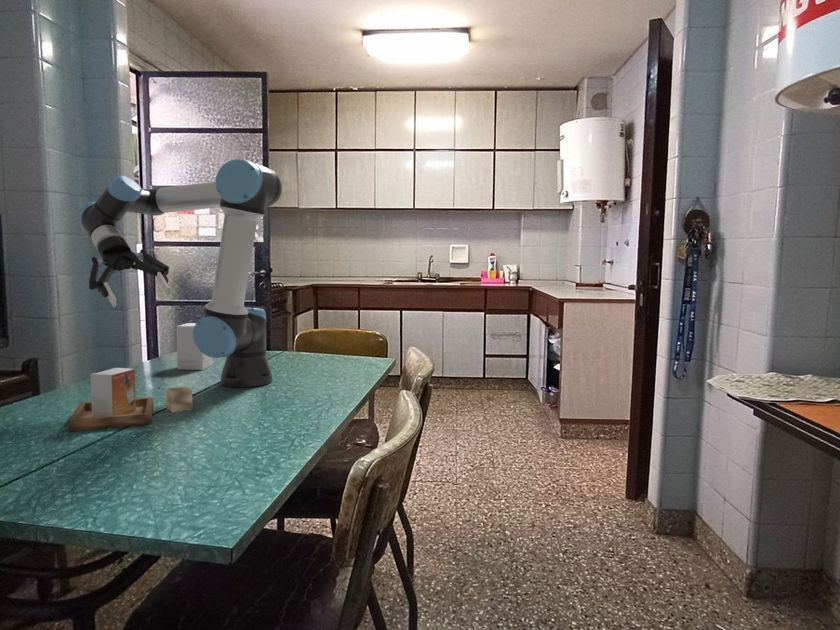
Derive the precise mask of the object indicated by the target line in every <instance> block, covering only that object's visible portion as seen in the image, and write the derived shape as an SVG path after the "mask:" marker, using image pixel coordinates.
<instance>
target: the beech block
mask: <svg viewBox="0 0 840 630" xmlns="http://www.w3.org/2000/svg"><path fill="white" fill-rule="evenodd" d="M165 409H166V410H168V411H169V410H170V411H171V412H172V413H175V412H174V411H179V412H182V411H181V410H186V411H188V410H187V409H193V390H192V389H190V388H189V387H188V386H180V387H171V388H165ZM170 411H169V412H170ZM171 412H170V413H171Z"/></svg>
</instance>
